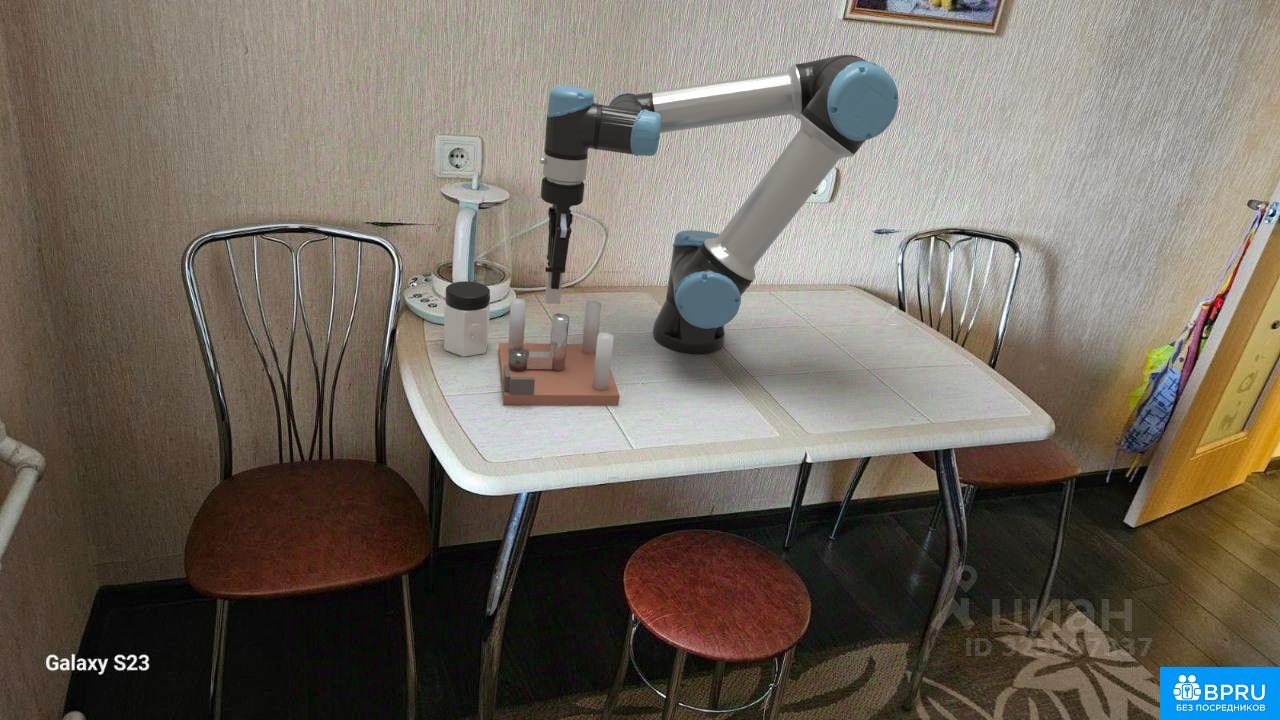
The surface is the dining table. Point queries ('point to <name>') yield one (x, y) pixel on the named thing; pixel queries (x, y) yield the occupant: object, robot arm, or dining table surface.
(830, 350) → the dining table surface
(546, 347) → the seat
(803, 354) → the dining table surface
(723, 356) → the dining table surface
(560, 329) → the shiny metal angled handle
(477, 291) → the jar
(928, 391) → the dining table surface
